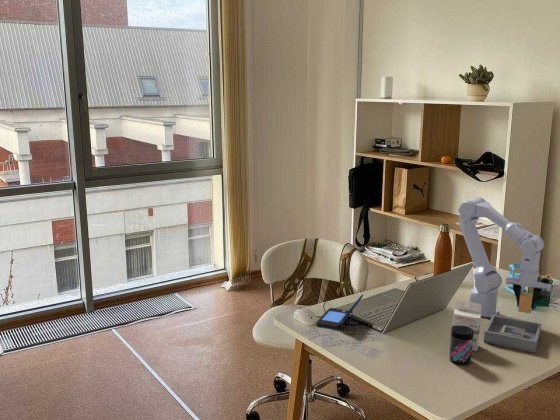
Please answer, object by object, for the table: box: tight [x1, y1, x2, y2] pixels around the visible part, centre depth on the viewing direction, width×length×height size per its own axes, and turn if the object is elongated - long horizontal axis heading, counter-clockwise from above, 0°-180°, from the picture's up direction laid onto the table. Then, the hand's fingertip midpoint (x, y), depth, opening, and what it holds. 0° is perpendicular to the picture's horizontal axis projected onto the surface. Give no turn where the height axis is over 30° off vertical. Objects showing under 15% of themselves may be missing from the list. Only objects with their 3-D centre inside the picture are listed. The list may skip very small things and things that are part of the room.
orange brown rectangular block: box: [517, 292, 533, 315], centre depth 201 cm, size 4×4×6 cm
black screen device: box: [316, 294, 364, 331], centre depth 206 cm, size 16×13×9 cm
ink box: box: [451, 299, 482, 352], centre depth 185 cm, size 9×5×15 cm, turn 65°
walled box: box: [483, 314, 542, 354], centre depth 192 cm, size 16×16×4 cm
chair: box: [504, 262, 526, 296], centre depth 234 cm, size 8×8×12 cm
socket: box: [501, 325, 525, 338], centre depth 192 cm, size 7×7×2 cm
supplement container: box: [449, 325, 474, 366], centre depth 176 cm, size 7×7×10 cm
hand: (525, 306), depth 201 cm, fingers closed on orange brown rectangular block, 4 cm apart
